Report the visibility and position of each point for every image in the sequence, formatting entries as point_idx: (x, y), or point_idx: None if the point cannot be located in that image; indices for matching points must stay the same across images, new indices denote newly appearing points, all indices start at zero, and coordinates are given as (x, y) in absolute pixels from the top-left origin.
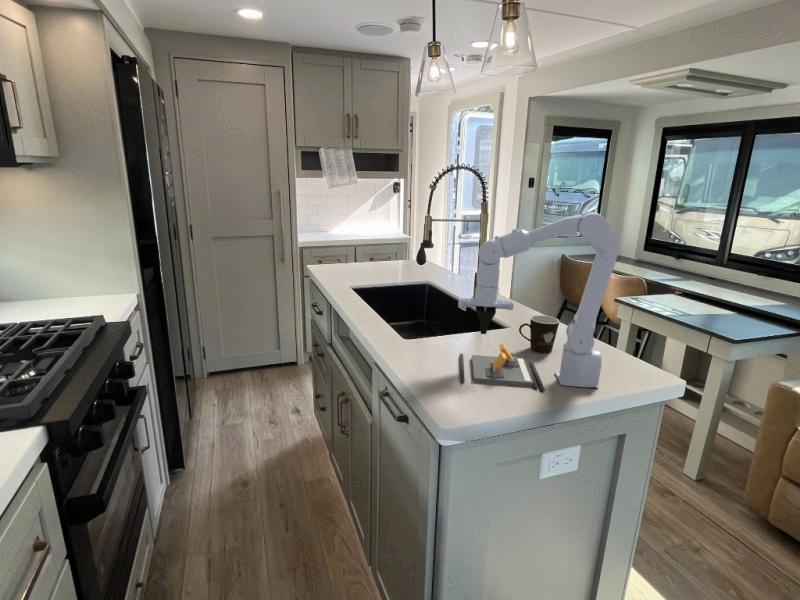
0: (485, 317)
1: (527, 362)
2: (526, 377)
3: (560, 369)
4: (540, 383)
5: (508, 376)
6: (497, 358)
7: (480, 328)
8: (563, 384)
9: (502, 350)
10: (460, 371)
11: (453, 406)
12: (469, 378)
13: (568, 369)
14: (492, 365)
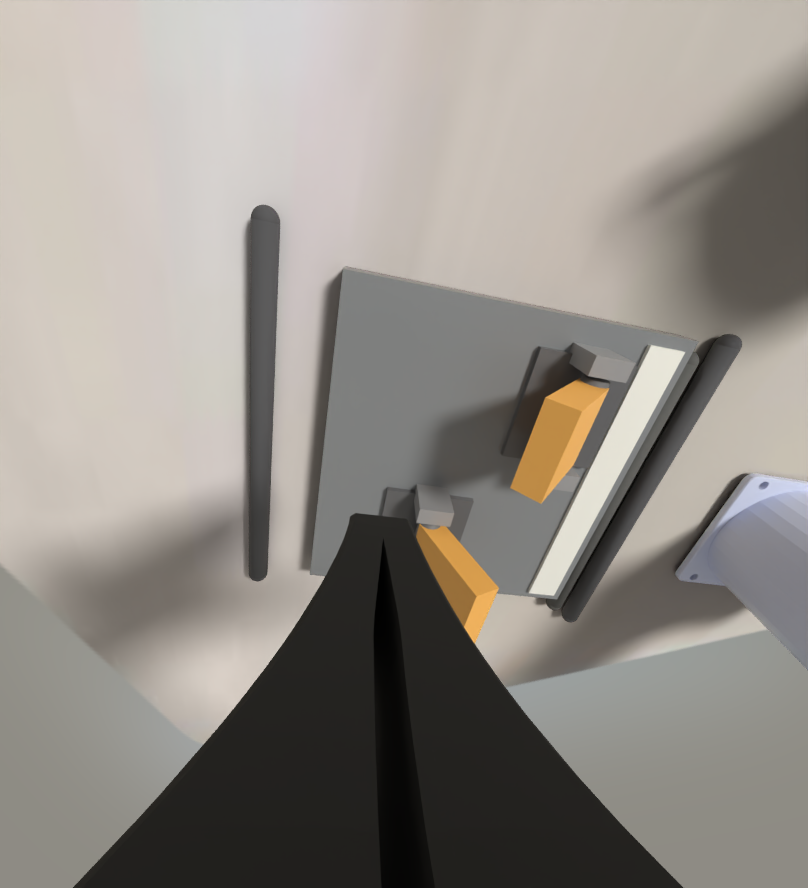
0: (381, 793)
1: (683, 387)
2: (551, 571)
3: (752, 556)
4: (585, 595)
5: (475, 557)
6: (445, 568)
7: (345, 535)
8: (681, 580)
9: (525, 488)
10: (249, 492)
11: (225, 688)
12: (296, 528)
13: (759, 619)
14: (419, 523)
